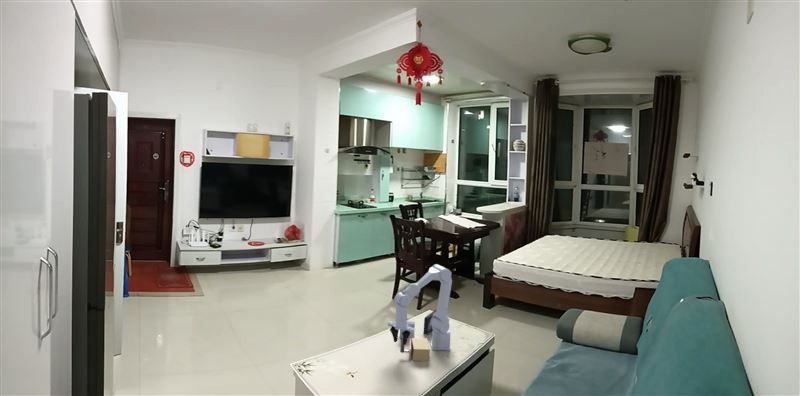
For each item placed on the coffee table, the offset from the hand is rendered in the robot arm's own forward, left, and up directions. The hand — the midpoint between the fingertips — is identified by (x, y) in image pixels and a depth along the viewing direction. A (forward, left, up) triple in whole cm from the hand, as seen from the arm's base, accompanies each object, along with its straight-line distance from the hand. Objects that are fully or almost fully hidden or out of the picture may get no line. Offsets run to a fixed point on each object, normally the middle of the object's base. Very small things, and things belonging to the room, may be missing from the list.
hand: (400, 342), depth 200 cm
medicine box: (-6, -22, -7) cm, 23 cm away
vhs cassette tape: (-22, -33, -7) cm, 40 cm away
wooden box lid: (-3, -2, -7) cm, 8 cm away
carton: (-11, -2, -7) cm, 13 cm away
